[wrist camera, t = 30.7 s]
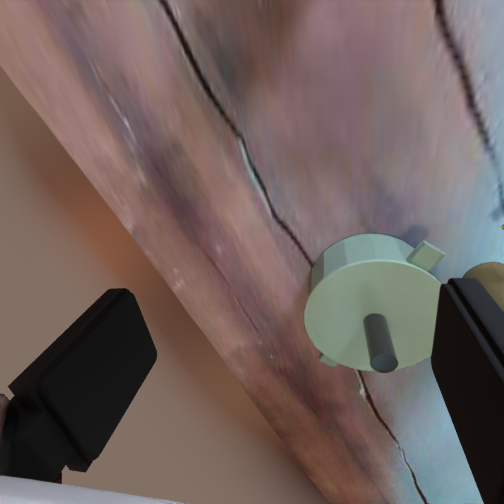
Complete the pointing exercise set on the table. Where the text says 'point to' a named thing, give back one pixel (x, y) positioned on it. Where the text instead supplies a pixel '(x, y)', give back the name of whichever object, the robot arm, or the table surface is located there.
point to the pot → (371, 249)
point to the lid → (374, 315)
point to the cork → (490, 280)
